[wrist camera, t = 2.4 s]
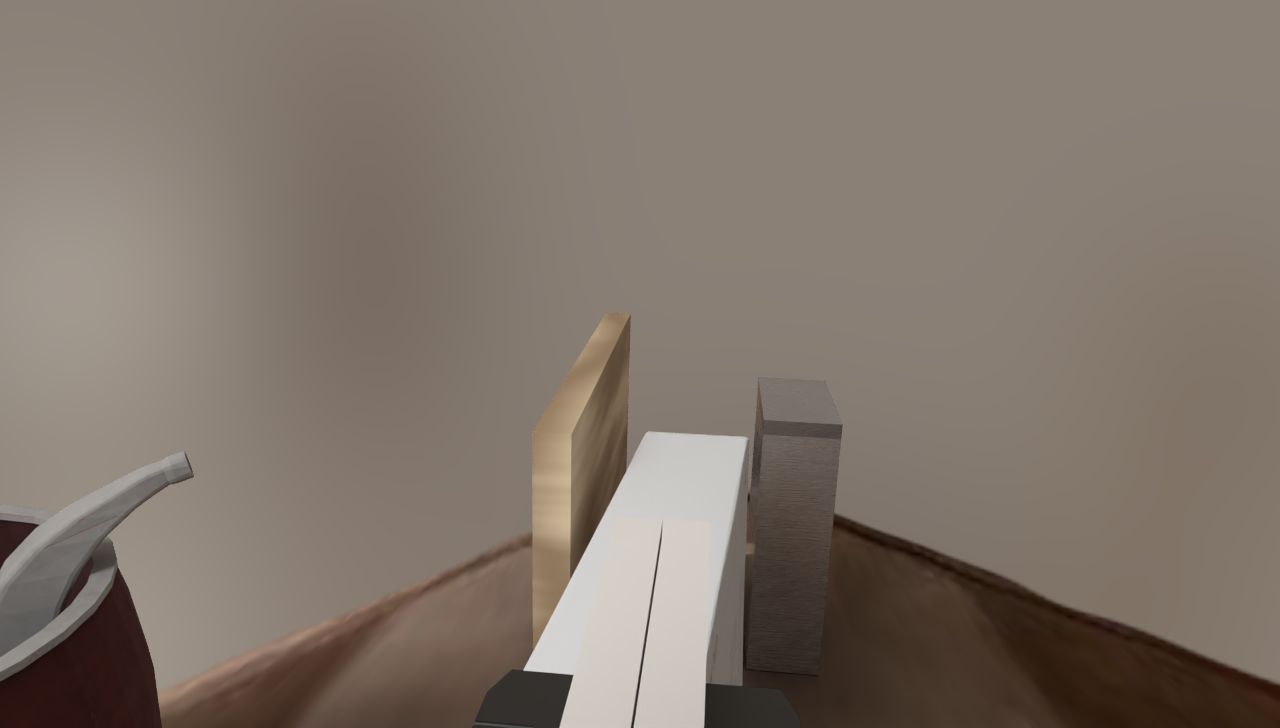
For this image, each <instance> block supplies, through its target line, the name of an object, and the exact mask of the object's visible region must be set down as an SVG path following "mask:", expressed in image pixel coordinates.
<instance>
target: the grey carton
mask: <svg viewBox="0 0 1280 728" xmlns="http://www.w3.org/2000/svg"><path fill="white" fill-rule="evenodd" d="M755 418H756V419H755V434H754V446H753V462H752V476H751V490H750V504H749V519H748V533H747V548H746V562H745V580H744V628H745V653H746V669H748V670H760V671H772V672H785V673H797V674H810V675H818V672H819V662H820V651H821V641H822V631H823V620H824V610H825V600H826V589H827V579H828V569H829V558H830V548H831V538H832V528H833V517H834V507H835V496H836V486H837V475H838V465H839V455H840V444H841V434H842V422H841V420H840V417H839V415H838V412H837V409H836V407H835V404H834V402H833V400H832V397H831V394H830V392H829V389H828V387H827V384H826V382H825V381H818V380H799V379H780V378H762V377H759V378H758V388H757V404H756V417H755Z"/></svg>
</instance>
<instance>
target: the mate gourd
mask: <svg viewBox="0 0 1280 728" xmlns="http://www.w3.org/2000/svg"><path fill="white" fill-rule="evenodd" d="M192 477H194V475H193V471H192V468H191V466H190V463H189V460H188V458H187V455H186V453H185V451H182V452H179V453H176V454H172V455H169V456H167V457H166V458H165V459H163V460H162V461H158V462H155V463H152V464H149V465H147V466H144V467H142V468H140V469H137V470H135V471H133V472H131V473H129V474H127V475H126V476H124V477H122V478H120V479H118V480H116V481H114V482H112V483H110V484H108V485H106V486H104V487H102V488H101V489H99V490H97V491H95V492H93V493H91V494H89V495H87V496H85V497H83V498H81V499H79V500H78V501H76V502H74V503H72V504H71V505H69V506H68V507H66V508H65V509H63V510H62V511H60V512H56V511H52V510H47V509H38V508H30V507H21V506H1V505H0V728H162V725H161V718H160V710H159V703H158V695H157V688H156V680H155V673H154V667H153V663H152V660H151V656H150V652H149V649H148V645H147V642H146V639H145V636H144V633H143V630H142V627H141V624H140V621H139V618H138V616H137V612H136V609H135V606H134V603H133V601H132V598H131V595H130V592H129V589H128V587H127V585H126V583H125V580H124V578H123V577H122V575H121V573H120V570H119V568H118V564H117V558H116V554H115V550H114V547H113V543H112V541H111V540H110V539H109V538H108V537H107V535H108V534H109V533H110V532H111V531H112V530H113V529H114V528H115V527H116V526H118V525H119V524H120V523H121V522H122V521H123V520H124V519H125V518H126V517H127V516H128V515H129V514H130V513H131V512H133V511H134V509H136V508H137V507H138V506H140V505H141V504H142V503H144V502H145V501H146V500H148V499H149V498H151V497H152V496H153V495H155V494H156V493H158V492H159V491H161V490H162V489H164V488H165V487H167V486H168V485H170V484H175V483H179V482H182V481H184V480H187V479H190V478H192Z"/></svg>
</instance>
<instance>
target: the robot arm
mask: <svg viewBox="0 0 1280 728" xmlns="http://www.w3.org/2000/svg"><path fill="white" fill-rule="evenodd" d="M662 525H663V519H653V518H638V517H624V516H617V518H616V522H615V525H614V529H613V533H612V536H611V540H610V544H609V547H608V551H607V555H606V558H605V562H604V566H603V569H602V573H601V577H600V580H599V584H598V588H597V591H596V595H595V599H594V602H593V606H592V610H591V613H590V617H589V621H588V624H587V628H586V632H585V635H584V639H583V643H582V646H581V650H580V654H579V657H578V661H577V665H576V668H575V672H574V675H570V674H558V673H546V672H535V671H523V670H511V671H510V672H509V673H508V674H507V675H506V676H504V677H503V678H502V679H501V680H500V681H499V682H498V683H497V684H496V685H494V686H493V687H492V688H491V689H490V690H489V691H488V692H487V694H486V696H485V698H484V701H483V703H482V706H481V708H480V710H479V713H478V715H477V717H476V720H475V726H473V727H472V728H801V725H800V717H799V715H798V714H797V712H796V711H795V709H794V708H793V707H792V705H791V704H790V702H789V701H788V700H787V698H786V697H785V695H784V694H783V693H782V691H781V690H780V689H769V688H757V687H746V686H734V685H722V684H710V683H706V656H707V625H708V594H709V564H710V533H711V522H696V521H682V520H667V519H665V521H664V528H663V534H662Z"/></svg>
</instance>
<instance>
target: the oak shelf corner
mask: <svg viewBox="0 0 1280 728" xmlns="http://www.w3.org/2000/svg"><path fill="white" fill-rule="evenodd" d="M630 318H631V314H624V313H606V314H605V316H604V318H603V319H602V321H601V322H600V324H599V326H598V327H597V329H596V330H595V332H594V334H593V335H592V337H591V339H590V340H589V342H588V344H587V345H586V347H585V348H584V350H583V352H582V353H581V355H580V356H579V358H578V360H577V361H576V363H575V364H574V366H573V368H572V369H571V371H570V372H569V374H568V376H567V377H566V379H565V380H564V382H563V384H562V385H561V387H560V388H559V390H558V392H557V393H556V395H555V396H554V398H553V400H552V401H551V403H550V405H549V406H548V408H547V409H546V411H545V413H544V414H543V416H542V417H541V419H540V421H539V422H538V424H537V425H536V427H535V429H534V430H533V432H532V447H533V448H532V452H533V453H532V455H533V456H532V461H533V463H532V465H533V467H532V474H533V475H532V480H533V481H532V483H533V651H534V649H535V647H536V645H537V643H538V641H539V639H540V637H541V635H542V634H543V632H544V630H545V628H546V626H547V624H548V622H549V620H550V618H551V616H552V614H553V612H554V610H555V609H556V607H557V605H558V603H559V601H560V599H561V597H562V595H563V593H564V591H565V589H566V587H567V585H568V583H569V582H570V580H571V578H572V576H573V574H574V572H575V570H576V568H577V566H578V564H579V562H580V560H581V558H582V556H583V554H584V552H585V550H586V549H587V547H588V545H589V543H590V541H591V539H592V537H593V535H594V533H595V531H596V529H597V527H598V525H599V523H600V521H601V519H602V518H603V516H604V514H605V512H606V510H607V508H608V506H609V504H610V502H611V500H612V498H613V496H614V494H615V492H616V490H617V488H618V486H619V484H620V483H621V481H622V479H623V477H624V475H625V473H626V458H627V425H628V390H629V353H630ZM745 562H746V558H745Z"/></svg>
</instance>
